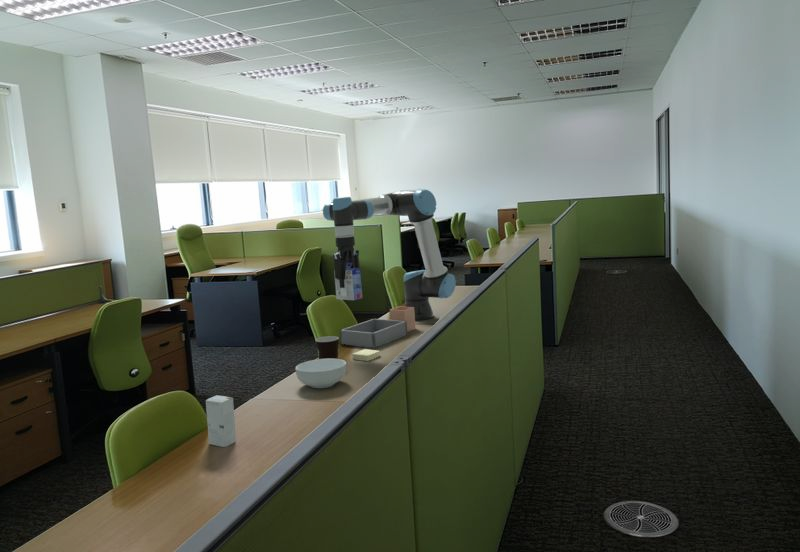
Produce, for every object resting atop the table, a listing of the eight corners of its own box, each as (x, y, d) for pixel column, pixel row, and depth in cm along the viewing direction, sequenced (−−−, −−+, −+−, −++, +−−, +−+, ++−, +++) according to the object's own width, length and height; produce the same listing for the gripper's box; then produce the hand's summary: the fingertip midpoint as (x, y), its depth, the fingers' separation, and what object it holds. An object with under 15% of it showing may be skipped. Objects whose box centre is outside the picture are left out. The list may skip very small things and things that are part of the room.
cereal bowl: (354, 377, 213) (353, 357, 212) (337, 393, 198) (335, 372, 197) (309, 376, 218) (307, 357, 217) (288, 392, 202) (286, 371, 201)
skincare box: (208, 444, 163) (203, 400, 161) (220, 438, 166) (216, 394, 165) (225, 447, 160) (220, 402, 158) (238, 441, 163) (233, 397, 162)
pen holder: (401, 327, 287) (399, 306, 286) (415, 328, 282) (414, 307, 281) (391, 331, 281) (389, 309, 279) (405, 332, 276) (404, 310, 275)
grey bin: (374, 331, 282) (373, 318, 281) (407, 334, 272) (406, 321, 271) (340, 344, 263) (339, 330, 262) (374, 347, 252) (373, 333, 252)
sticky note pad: (365, 355, 244) (364, 349, 243) (380, 357, 239) (380, 350, 239) (352, 360, 238) (352, 353, 237) (368, 362, 233) (367, 355, 233)
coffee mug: (336, 368, 226) (334, 341, 225) (314, 368, 228) (312, 342, 227) (345, 359, 237) (343, 334, 236) (324, 359, 239) (322, 334, 238)
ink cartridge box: (363, 298, 247) (360, 262, 245) (354, 300, 243) (351, 264, 241) (345, 296, 253) (341, 261, 251) (336, 299, 249) (332, 264, 247)
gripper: (352, 234, 254) (356, 290, 258) (322, 238, 239) (326, 298, 243) (366, 234, 250) (370, 290, 253) (336, 238, 235) (341, 298, 238)
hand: (349, 294), depth 248 cm, fingers closed on ink cartridge box, 5 cm apart
